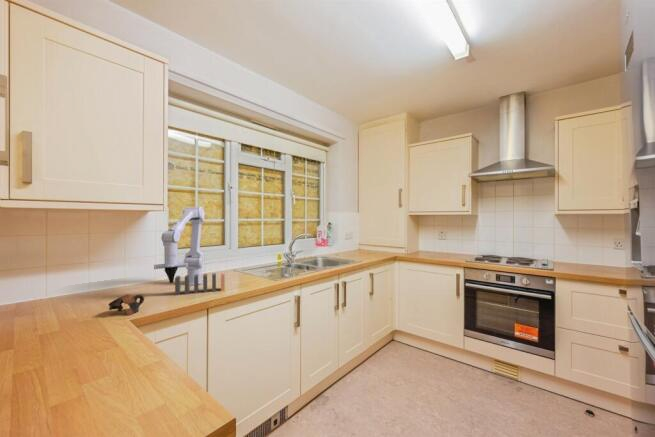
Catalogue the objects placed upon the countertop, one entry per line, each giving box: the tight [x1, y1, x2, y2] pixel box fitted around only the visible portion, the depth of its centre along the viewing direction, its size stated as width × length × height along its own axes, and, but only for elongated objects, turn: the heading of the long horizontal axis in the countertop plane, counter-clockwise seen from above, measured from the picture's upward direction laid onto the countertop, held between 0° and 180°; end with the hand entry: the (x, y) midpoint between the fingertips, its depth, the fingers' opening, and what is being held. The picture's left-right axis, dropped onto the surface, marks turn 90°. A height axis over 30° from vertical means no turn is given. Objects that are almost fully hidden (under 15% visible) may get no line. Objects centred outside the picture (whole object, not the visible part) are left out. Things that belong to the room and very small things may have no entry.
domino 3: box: [193, 274, 200, 294], centre depth 143 cm, size 5×2×8 cm, turn 21°
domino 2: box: [184, 274, 191, 295], centre depth 141 cm, size 5×2×8 cm, turn 21°
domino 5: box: [211, 272, 217, 293], centre depth 146 cm, size 5×2×8 cm, turn 21°
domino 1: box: [174, 275, 181, 296], centre depth 140 cm, size 5×2×8 cm, turn 21°
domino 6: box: [220, 272, 226, 292], centre depth 147 cm, size 5×2×8 cm, turn 21°
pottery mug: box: [108, 293, 145, 316], centre depth 114 cm, size 12×10×8 cm
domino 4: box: [202, 273, 208, 294], centre depth 144 cm, size 5×2×8 cm, turn 21°
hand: (171, 282), depth 139 cm, fingers closed
